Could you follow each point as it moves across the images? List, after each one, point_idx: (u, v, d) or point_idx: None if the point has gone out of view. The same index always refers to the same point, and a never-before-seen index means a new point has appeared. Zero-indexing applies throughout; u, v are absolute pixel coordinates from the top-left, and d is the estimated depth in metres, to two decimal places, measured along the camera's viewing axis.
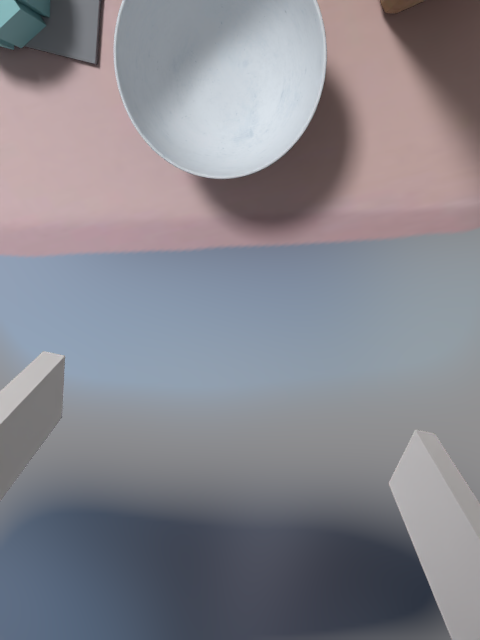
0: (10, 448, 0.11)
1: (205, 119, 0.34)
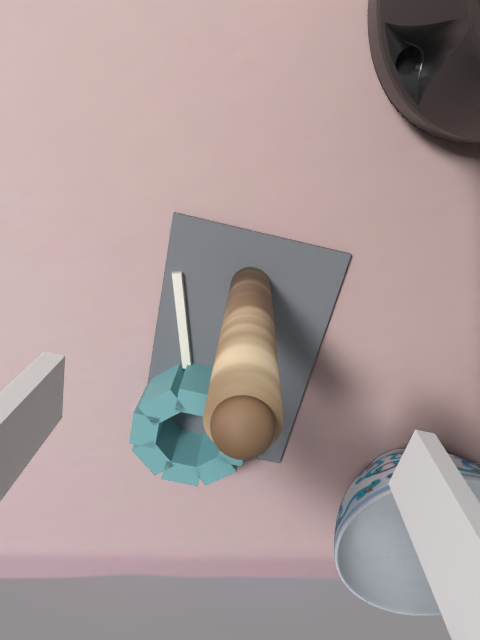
0: (10, 448, 0.11)
1: (382, 513, 0.36)
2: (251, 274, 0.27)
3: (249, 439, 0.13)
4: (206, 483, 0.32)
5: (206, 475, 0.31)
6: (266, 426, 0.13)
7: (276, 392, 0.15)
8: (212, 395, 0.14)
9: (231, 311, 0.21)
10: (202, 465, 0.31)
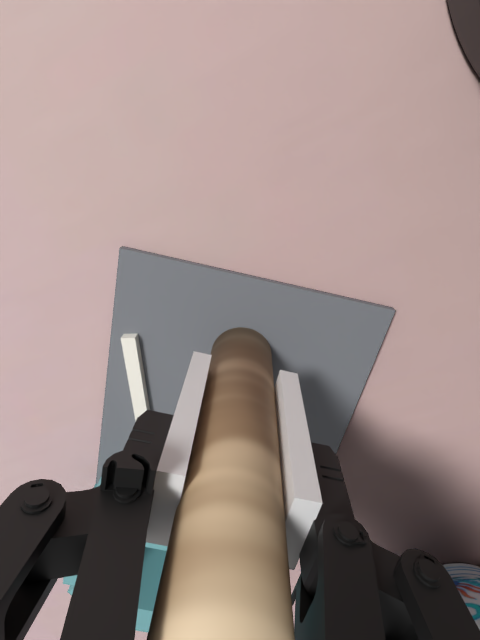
0: None
1: None
2: (241, 345, 0.17)
3: None
4: None
5: None
6: None
7: None
8: None
9: (201, 447, 0.12)
10: None
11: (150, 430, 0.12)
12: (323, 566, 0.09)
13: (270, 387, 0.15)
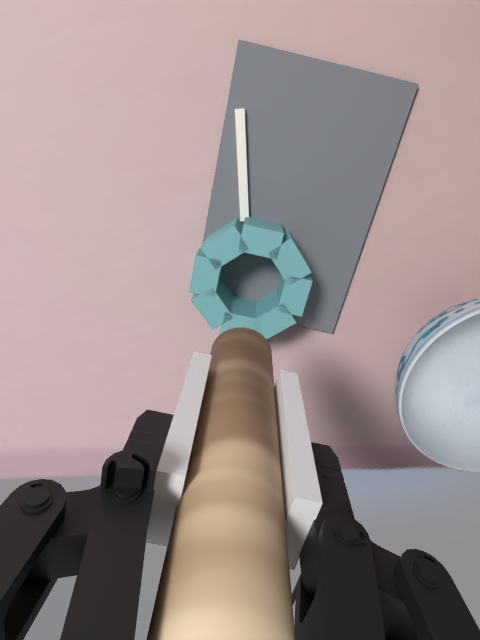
0: None
1: (436, 384, 0.35)
2: (241, 345, 0.17)
3: None
4: None
5: (265, 328, 0.31)
6: None
7: None
8: None
9: (201, 447, 0.11)
10: (262, 316, 0.31)
11: (150, 430, 0.12)
12: (323, 566, 0.09)
13: (270, 387, 0.15)
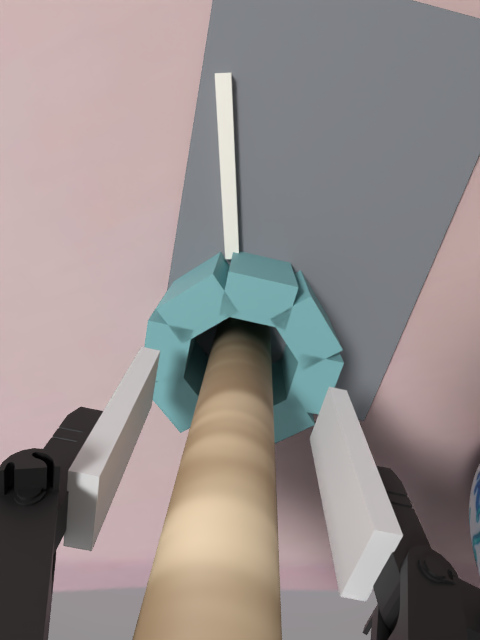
0: (132, 429, 0.13)
1: None
2: (243, 323, 0.19)
3: None
4: None
5: None
6: None
7: None
8: None
9: (207, 397, 0.14)
10: None
11: (78, 428, 0.11)
12: (407, 597, 0.08)
13: (267, 357, 0.17)
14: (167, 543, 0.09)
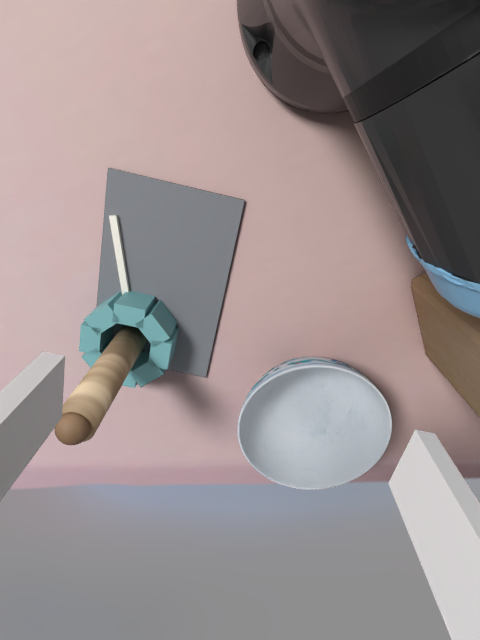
0: (10, 448, 0.11)
1: (289, 418, 0.45)
2: None
3: (69, 434, 0.26)
4: (141, 385, 0.40)
5: (140, 378, 0.40)
6: (80, 428, 0.27)
7: (93, 410, 0.28)
8: None
9: (100, 356, 0.35)
10: (137, 369, 0.40)
11: None
12: None
13: (137, 341, 0.38)
14: (72, 393, 0.30)
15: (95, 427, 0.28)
